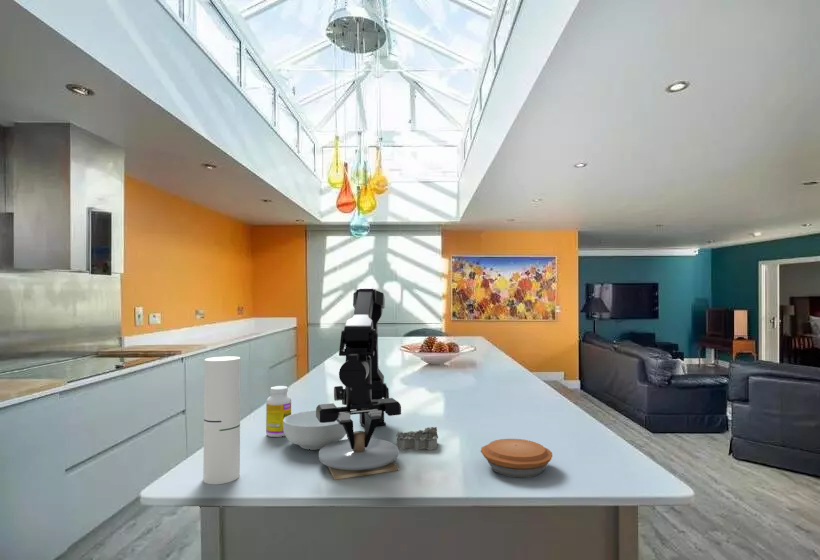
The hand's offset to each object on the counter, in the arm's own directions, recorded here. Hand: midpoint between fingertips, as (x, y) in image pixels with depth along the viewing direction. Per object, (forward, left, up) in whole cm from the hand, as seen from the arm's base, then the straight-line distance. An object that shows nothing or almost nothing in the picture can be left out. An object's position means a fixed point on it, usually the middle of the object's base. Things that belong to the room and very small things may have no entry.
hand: (359, 447), depth 105 cm
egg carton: (-17, -7, -4) cm, 19 cm away
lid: (0, 0, -2) cm, 2 cm away
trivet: (0, 0, -4) cm, 4 cm away
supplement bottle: (+15, -30, -4) cm, 34 cm away
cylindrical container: (+29, -3, -4) cm, 29 cm away
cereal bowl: (+7, -17, -4) cm, 19 cm away
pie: (-32, +15, -4) cm, 36 cm away
